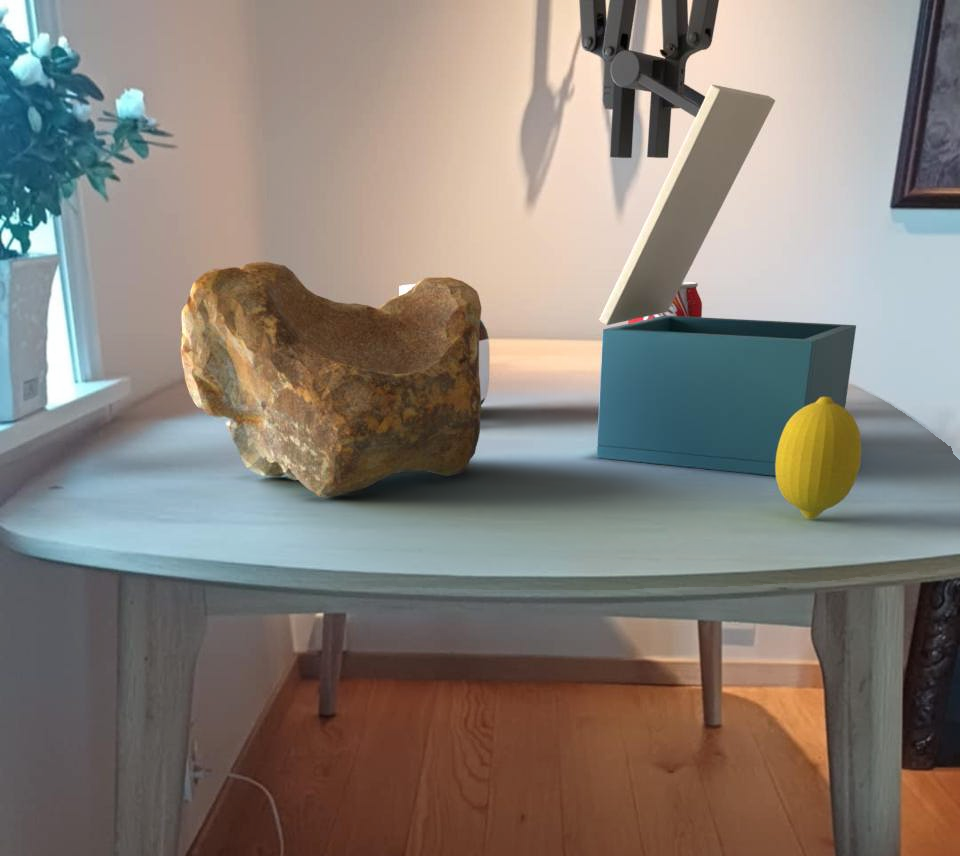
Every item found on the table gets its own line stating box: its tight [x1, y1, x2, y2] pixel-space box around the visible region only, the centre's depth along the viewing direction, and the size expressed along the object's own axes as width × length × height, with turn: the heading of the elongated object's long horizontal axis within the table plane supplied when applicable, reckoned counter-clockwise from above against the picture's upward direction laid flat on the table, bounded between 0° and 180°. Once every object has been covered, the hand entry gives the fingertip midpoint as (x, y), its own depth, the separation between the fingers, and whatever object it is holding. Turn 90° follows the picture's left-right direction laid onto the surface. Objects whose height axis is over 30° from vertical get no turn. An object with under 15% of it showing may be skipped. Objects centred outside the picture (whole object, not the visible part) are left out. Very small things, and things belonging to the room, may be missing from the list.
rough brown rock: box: [180, 261, 483, 499], centre depth 92 cm, size 23×17×15 cm
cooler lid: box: [599, 49, 776, 326], centre depth 101 cm, size 18×14×10 cm
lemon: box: [775, 396, 862, 520], centre depth 84 cm, size 6×6×8 cm
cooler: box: [596, 316, 857, 477], centre depth 105 cm, size 17×14×10 cm
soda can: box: [627, 280, 703, 324], centre depth 122 cm, size 7×7×12 cm
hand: (639, 156), depth 100 cm, fingers closed on cooler lid, 2 cm apart
